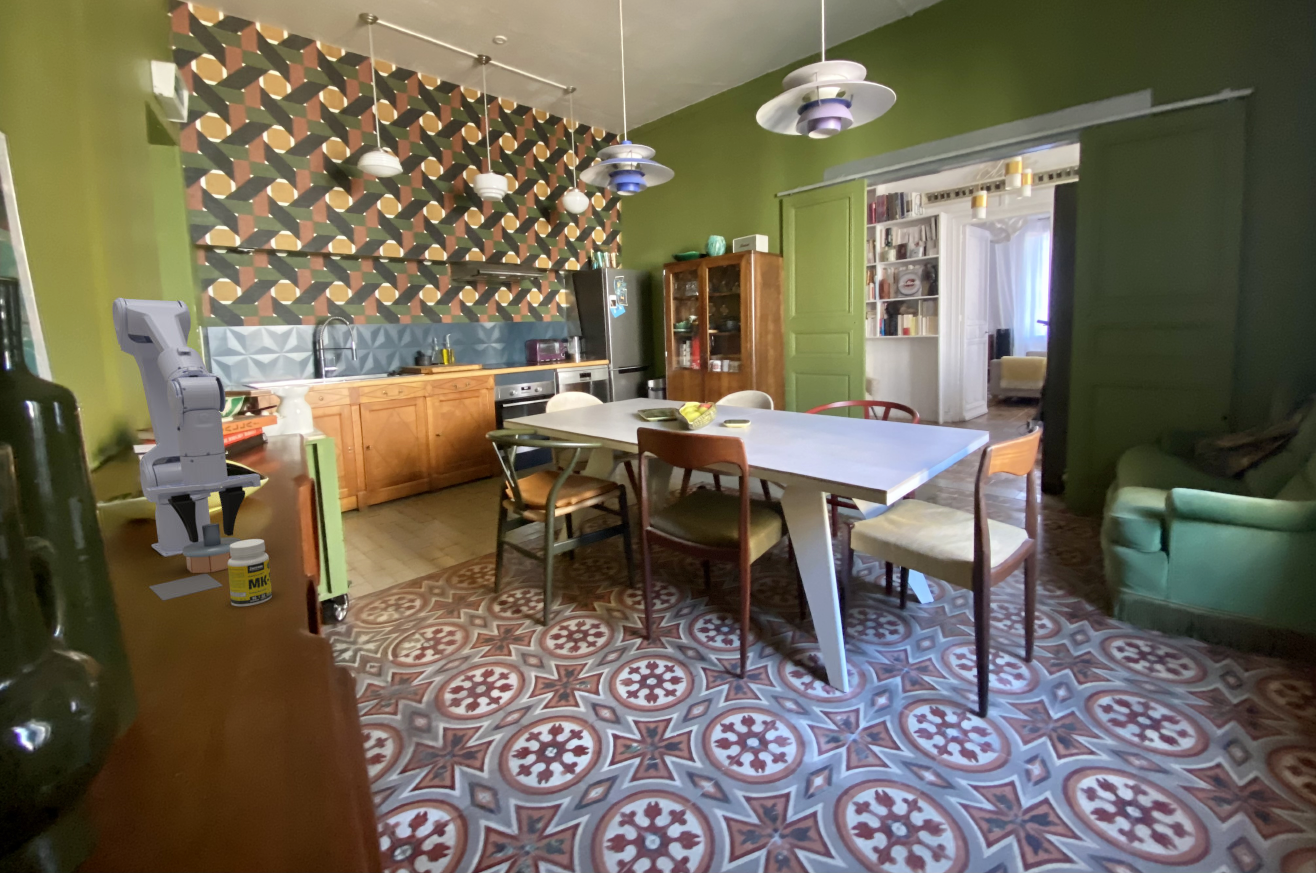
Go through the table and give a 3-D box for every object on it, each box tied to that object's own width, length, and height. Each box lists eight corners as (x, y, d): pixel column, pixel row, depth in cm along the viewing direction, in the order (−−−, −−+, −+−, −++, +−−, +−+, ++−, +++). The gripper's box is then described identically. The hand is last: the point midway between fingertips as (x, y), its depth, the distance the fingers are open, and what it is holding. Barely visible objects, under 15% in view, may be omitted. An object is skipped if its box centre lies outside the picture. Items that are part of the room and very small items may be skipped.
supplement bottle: (252, 610, 83) (246, 549, 82) (222, 607, 84) (216, 547, 82) (280, 596, 87) (275, 538, 86) (252, 593, 88) (246, 536, 87)
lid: (178, 550, 99) (175, 525, 98) (234, 539, 104) (232, 516, 104) (189, 560, 93) (186, 535, 93) (247, 548, 99) (245, 524, 98)
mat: (149, 589, 90) (148, 586, 90) (206, 575, 96) (206, 573, 95) (163, 603, 85) (163, 600, 85) (223, 588, 90) (222, 585, 90)
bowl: (184, 568, 99) (181, 550, 98) (232, 557, 104) (230, 540, 103) (196, 577, 95) (193, 558, 94) (245, 566, 100) (243, 548, 99)
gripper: (150, 462, 89) (161, 554, 91) (264, 450, 100) (271, 532, 102) (139, 457, 93) (149, 544, 95) (249, 446, 104) (256, 524, 106)
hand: (211, 537), depth 99 cm, fingers open, 4 cm apart
